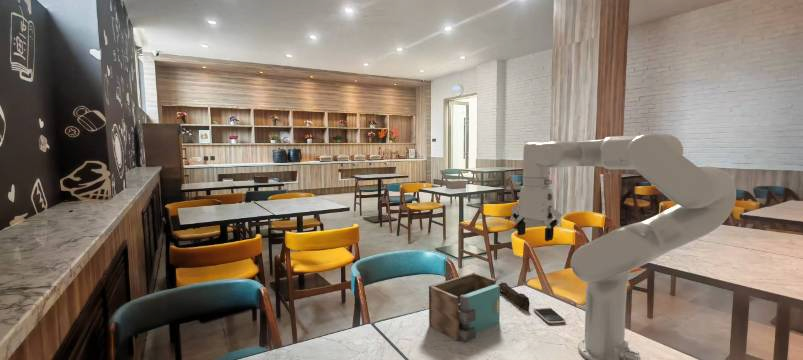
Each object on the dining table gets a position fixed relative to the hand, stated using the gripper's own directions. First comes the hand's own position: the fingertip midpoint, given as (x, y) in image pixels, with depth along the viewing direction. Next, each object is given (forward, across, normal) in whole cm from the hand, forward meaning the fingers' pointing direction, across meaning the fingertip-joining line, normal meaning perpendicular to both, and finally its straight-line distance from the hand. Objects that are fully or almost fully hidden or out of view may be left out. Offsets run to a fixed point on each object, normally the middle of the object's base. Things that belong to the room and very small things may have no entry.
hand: (534, 237), depth 120 cm
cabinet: (+28, +13, +16) cm, 35 cm away
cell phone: (+29, 0, -9) cm, 30 cm away
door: (+28, +9, +15) cm, 33 cm away
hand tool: (+29, +15, -12) cm, 35 cm away
